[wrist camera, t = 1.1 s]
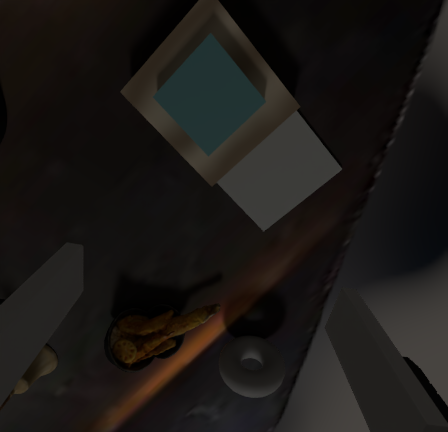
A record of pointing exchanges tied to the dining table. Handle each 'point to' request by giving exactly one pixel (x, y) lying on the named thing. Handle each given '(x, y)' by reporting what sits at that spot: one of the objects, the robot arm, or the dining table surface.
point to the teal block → (209, 96)
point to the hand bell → (35, 371)
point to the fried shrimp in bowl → (150, 334)
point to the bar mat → (280, 172)
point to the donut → (252, 379)
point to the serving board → (247, 62)
